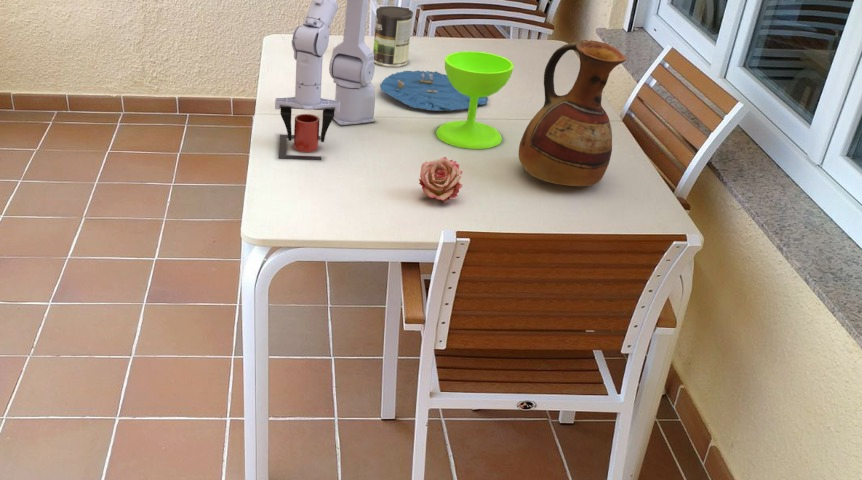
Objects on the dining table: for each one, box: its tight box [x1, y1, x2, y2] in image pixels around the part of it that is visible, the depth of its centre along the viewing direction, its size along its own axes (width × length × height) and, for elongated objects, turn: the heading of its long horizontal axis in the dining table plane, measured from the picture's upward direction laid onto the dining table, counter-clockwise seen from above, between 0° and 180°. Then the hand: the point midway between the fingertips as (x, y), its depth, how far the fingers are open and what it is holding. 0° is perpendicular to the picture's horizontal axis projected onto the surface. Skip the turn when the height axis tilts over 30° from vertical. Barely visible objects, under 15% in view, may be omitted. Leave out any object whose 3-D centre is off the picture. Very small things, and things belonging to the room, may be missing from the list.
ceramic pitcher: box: [518, 39, 627, 187], centre depth 209 cm, size 20×20×30 cm
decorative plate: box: [379, 70, 488, 112], centre depth 256 cm, size 30×30×5 cm
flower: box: [418, 156, 463, 203], centre depth 203 cm, size 10×9×8 cm
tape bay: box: [278, 134, 322, 161], centre depth 223 cm, size 10×14×1 cm
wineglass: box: [435, 50, 515, 150], centre depth 229 cm, size 16×16×18 cm
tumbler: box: [293, 113, 320, 153], centre depth 221 cm, size 6×6×7 cm
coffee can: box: [372, 5, 414, 68], centre depth 274 cm, size 10×10×14 cm
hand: (306, 139), depth 222 cm, fingers open, 7 cm apart
